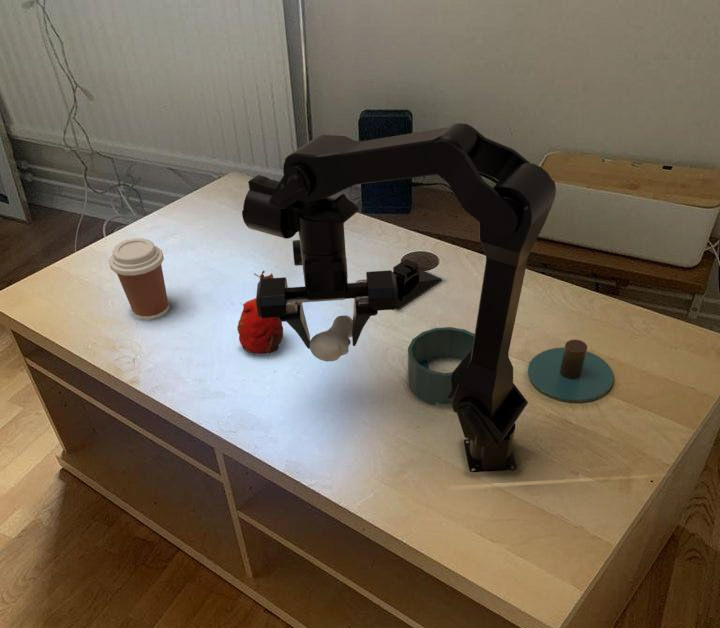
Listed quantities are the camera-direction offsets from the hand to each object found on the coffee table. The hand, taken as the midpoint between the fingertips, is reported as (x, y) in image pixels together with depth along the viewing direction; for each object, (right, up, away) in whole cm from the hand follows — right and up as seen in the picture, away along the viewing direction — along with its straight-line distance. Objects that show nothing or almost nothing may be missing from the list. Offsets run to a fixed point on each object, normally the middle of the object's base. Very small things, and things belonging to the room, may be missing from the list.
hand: (331, 345), depth 103 cm
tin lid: (+36, -3, +8) cm, 37 cm away
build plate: (+12, +15, +28) cm, 34 cm away
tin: (+17, -4, +9) cm, 20 cm away
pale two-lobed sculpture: (+1, -1, +1) cm, 1 cm away
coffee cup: (-33, +11, +27) cm, 44 cm away
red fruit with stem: (-12, +3, +18) cm, 22 cm away
